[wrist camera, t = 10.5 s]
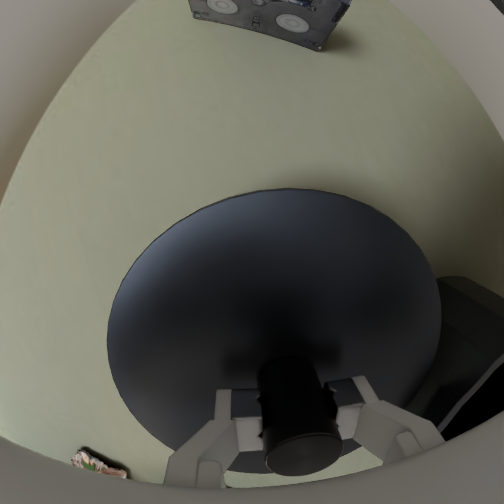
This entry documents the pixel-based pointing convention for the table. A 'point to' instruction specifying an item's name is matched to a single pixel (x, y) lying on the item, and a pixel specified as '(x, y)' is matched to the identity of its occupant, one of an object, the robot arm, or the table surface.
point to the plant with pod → (95, 465)
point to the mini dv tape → (277, 17)
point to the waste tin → (464, 360)
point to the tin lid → (273, 320)
